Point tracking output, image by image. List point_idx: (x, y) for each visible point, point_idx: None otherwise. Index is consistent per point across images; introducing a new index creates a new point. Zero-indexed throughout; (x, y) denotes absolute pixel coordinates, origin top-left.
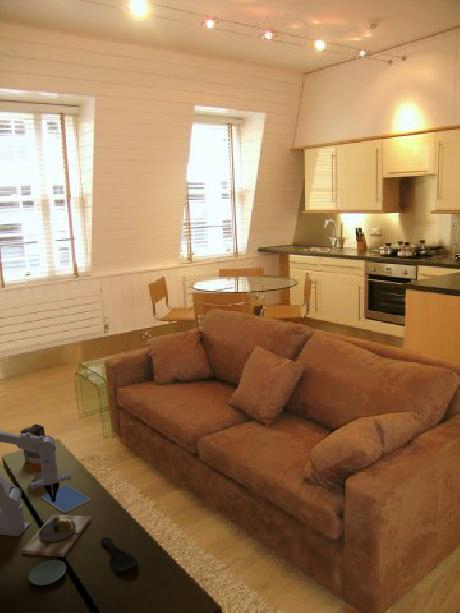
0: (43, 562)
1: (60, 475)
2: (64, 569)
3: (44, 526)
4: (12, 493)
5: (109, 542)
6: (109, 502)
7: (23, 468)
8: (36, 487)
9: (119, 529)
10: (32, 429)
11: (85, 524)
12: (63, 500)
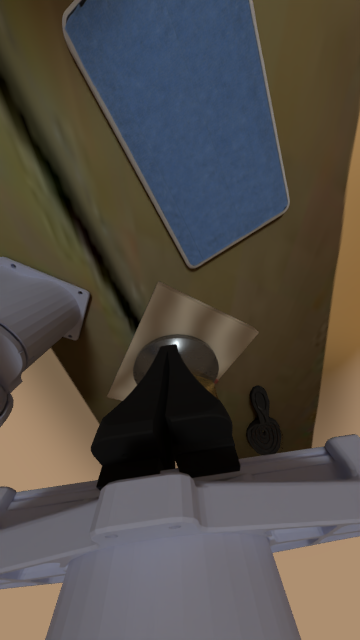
0: None
1: (299, 504)
2: None
3: (142, 356)
4: None
5: (264, 412)
6: (330, 254)
7: None
8: (44, 494)
9: (292, 371)
10: None
11: (238, 353)
12: (190, 167)
